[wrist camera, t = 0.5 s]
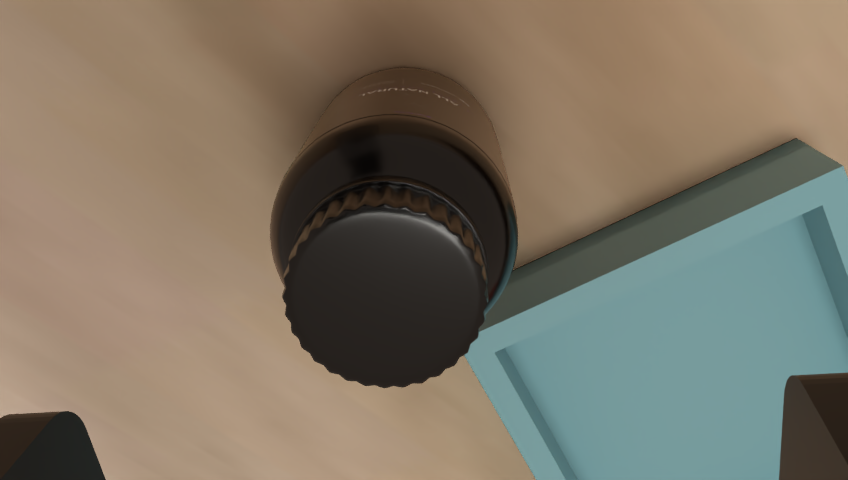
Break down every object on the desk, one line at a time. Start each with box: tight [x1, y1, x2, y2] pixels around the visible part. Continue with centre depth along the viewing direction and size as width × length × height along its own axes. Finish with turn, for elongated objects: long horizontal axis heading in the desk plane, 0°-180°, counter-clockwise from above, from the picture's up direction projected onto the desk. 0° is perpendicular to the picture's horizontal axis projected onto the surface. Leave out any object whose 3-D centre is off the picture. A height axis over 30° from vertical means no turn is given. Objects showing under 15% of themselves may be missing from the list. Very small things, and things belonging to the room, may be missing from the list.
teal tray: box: [464, 138, 848, 480], centre depth 31 cm, size 16×14×4 cm
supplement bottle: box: [270, 68, 518, 388], centre depth 24 cm, size 7×7×12 cm
